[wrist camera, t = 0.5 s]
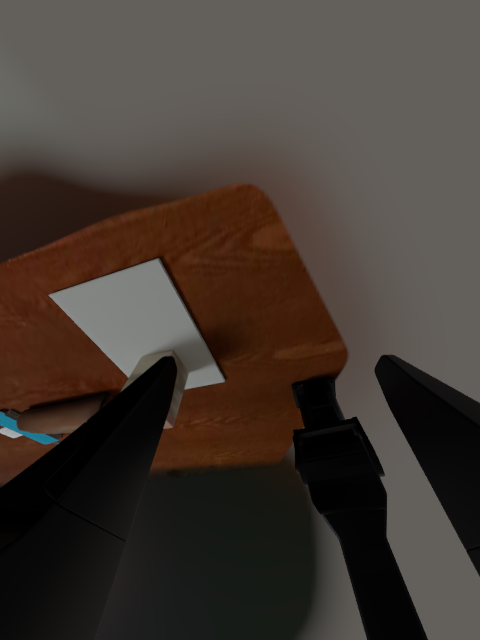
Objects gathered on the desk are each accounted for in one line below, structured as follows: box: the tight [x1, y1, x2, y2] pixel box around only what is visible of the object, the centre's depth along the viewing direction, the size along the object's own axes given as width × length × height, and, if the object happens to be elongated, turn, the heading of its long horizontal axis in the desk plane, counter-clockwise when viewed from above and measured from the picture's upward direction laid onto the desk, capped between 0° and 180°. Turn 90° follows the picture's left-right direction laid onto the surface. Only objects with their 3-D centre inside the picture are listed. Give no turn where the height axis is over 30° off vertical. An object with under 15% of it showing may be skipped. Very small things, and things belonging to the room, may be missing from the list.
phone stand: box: [0, 410, 62, 445], centre depth 40 cm, size 20×12×2 cm, turn 26°
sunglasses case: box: [16, 393, 113, 434], centre depth 35 cm, size 18×7×7 cm
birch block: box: [121, 349, 189, 429], centre depth 25 cm, size 5×5×8 cm
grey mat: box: [49, 258, 225, 389], centre depth 26 cm, size 20×14×1 cm
